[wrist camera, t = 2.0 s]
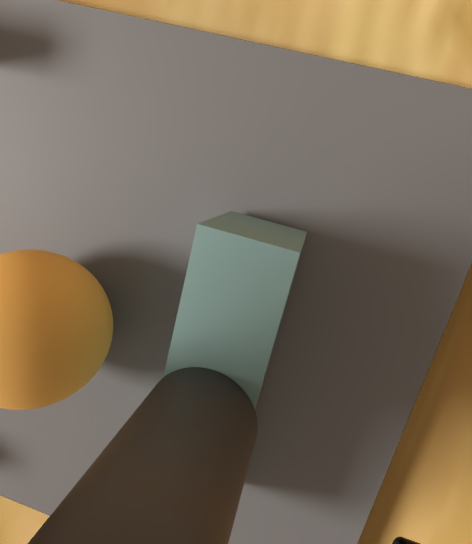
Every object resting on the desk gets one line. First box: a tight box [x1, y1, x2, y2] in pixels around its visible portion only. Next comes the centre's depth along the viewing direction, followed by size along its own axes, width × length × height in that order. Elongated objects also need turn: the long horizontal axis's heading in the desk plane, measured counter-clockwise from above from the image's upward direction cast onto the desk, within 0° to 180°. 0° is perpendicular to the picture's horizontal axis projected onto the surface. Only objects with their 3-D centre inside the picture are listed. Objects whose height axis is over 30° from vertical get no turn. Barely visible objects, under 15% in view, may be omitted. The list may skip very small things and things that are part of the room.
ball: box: [0, 250, 113, 410], centre depth 11 cm, size 4×4×4 cm
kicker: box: [28, 211, 307, 544], centre depth 7 cm, size 2×8×9 cm, turn 166°
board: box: [0, 0, 472, 544], centre depth 13 cm, size 21×16×1 cm
